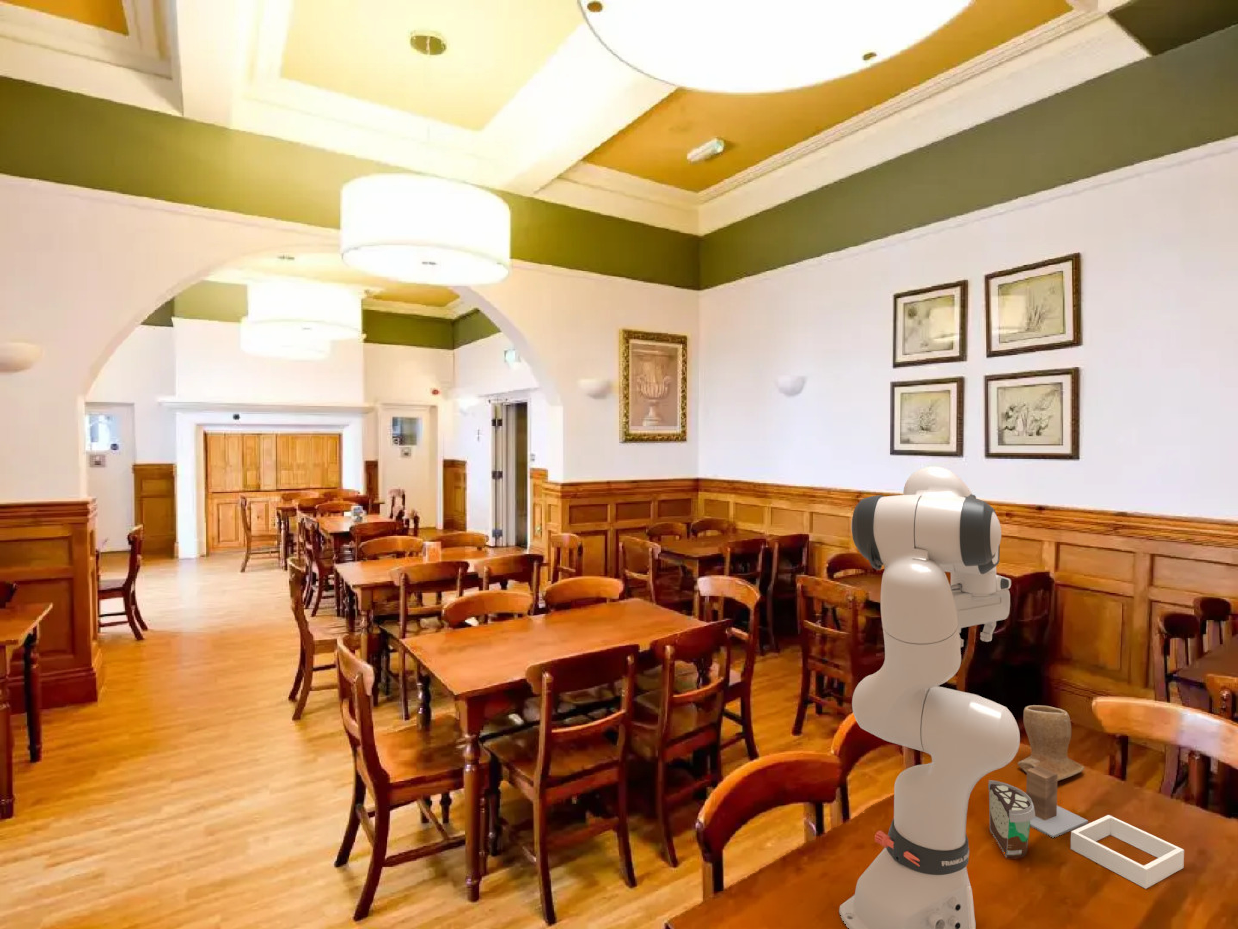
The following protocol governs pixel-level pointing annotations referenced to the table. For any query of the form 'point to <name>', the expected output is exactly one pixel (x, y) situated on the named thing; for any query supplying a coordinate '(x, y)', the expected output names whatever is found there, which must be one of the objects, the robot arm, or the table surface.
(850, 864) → the table surface
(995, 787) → the food container
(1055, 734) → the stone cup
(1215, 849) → the table surface
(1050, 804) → the walnut block
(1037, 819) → the rubber mat
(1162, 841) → the tray
